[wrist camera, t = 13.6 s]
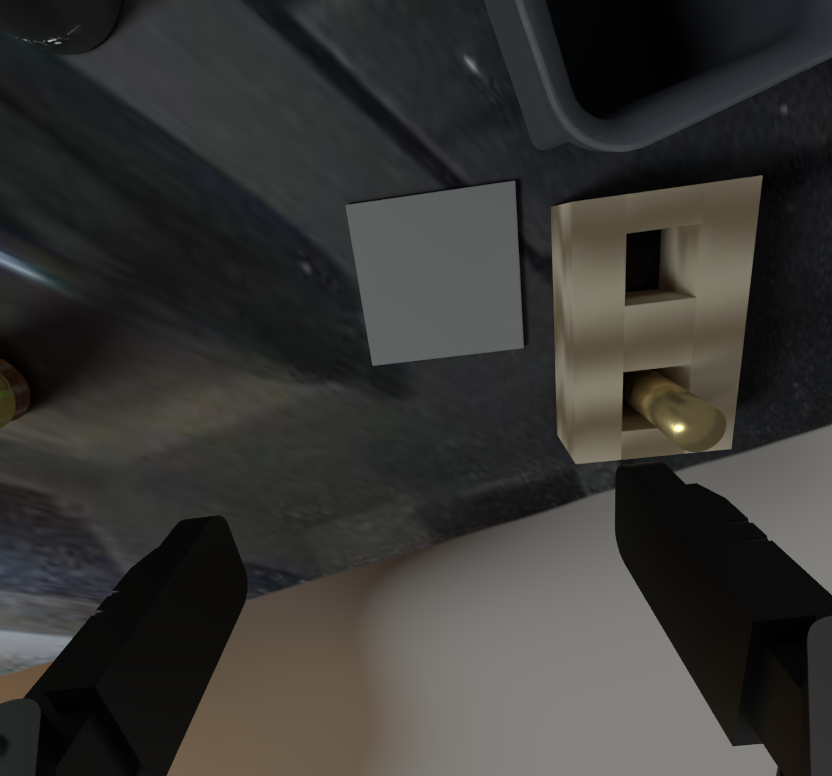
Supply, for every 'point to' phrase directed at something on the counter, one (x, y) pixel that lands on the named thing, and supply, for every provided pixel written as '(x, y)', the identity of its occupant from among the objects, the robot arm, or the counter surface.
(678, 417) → the peg
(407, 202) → the mat
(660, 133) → the storage bin
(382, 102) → the counter surface
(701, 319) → the hole block
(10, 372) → the sauce bottle
